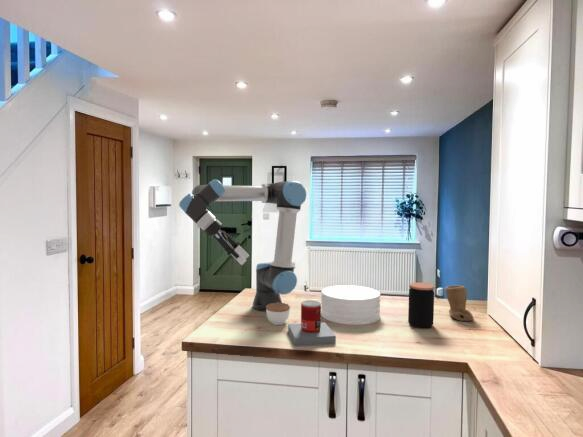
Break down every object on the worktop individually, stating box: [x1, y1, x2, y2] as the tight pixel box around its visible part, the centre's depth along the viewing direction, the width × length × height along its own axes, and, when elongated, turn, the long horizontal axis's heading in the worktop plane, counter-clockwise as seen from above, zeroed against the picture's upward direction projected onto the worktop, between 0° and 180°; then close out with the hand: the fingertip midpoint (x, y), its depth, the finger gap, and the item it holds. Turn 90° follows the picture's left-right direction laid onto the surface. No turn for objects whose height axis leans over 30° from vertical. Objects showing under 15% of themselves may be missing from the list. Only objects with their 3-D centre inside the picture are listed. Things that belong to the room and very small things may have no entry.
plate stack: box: [320, 284, 381, 326], centre depth 179 cm, size 28×28×12 cm
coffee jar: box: [407, 282, 435, 329], centre depth 165 cm, size 11×11×18 cm
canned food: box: [300, 300, 322, 333], centre depth 150 cm, size 8×8×11 cm
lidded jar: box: [265, 302, 291, 326], centre depth 166 cm, size 11×11×9 cm
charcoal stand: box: [287, 321, 337, 347], centre depth 150 cm, size 16×16×3 cm
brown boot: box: [444, 284, 475, 322], centre depth 177 cm, size 15×12×15 cm
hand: (245, 260), depth 157 cm, fingers open, 13 cm apart
